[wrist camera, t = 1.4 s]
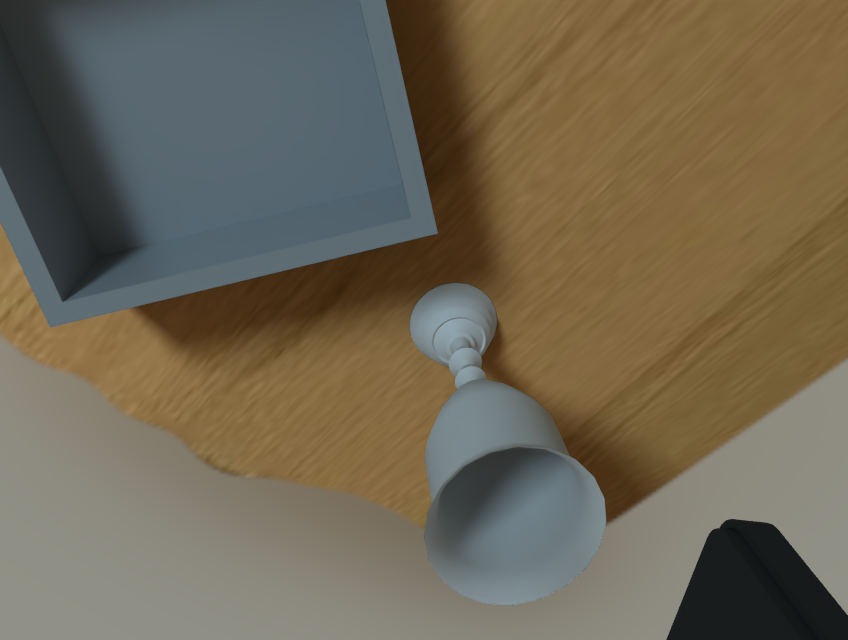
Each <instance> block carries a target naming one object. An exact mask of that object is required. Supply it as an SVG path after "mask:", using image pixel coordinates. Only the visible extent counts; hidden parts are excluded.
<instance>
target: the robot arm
mask: <svg viewBox="0 0 848 640" xmlns="http://www.w3.org/2000/svg"><path fill="white" fill-rule="evenodd" d="M667 640H848V615H847V614H846V613H845V612H844V610H843V609H842V608H841V607H840V605H839V604H838V603H837V602H836V600H835V599H834V598H833V597H832V596H831V594H830V593H829V592H828V591H827V590H826V588H825V587H824V586H823V584H822V583H821V582H820V581H819V580H818V578H817V577H816V576H815V575H814V573H813V572H812V571H811V570H810V568H809V567H808V566H807V565H806V563H805V562H804V561H803V560H802V558H801V557H800V556H799V555H798V554H797V552H796V551H795V550H794V549H793V547H792V546H791V545H790V544H789V542H788V541H787V540H786V539H785V537H784V536H783V535H782V534H781V533H780V531H779V530H778V529H777V528H776V527H775V526H774V525H772V524H769V523H763V522H753V521H745V520H736V519H730V520H726V521H725V522H724V523H723V524H722V525H721V527H720V528H717V529H714V530H712V531H711V532H710V534H709V536H708V538H707V540H706V542H705V545H704V547H703V550H702V552H701V555H700V557H699V560H698V562H697V565H696V567H695V570H694V572H693V575H692V577H691V580H690V582H689V585H688V587H687V590H686V592H685V595H684V597H683V600H682V602H681V605H680V607H679V610H678V612H677V615H676V617H675V620H674V622H673V625H672V627H671V630H670V632H669V635H668V637H667Z"/></svg>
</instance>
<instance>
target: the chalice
mask: <svg viewBox="0 0 848 640" xmlns="http://www.w3.org/2000/svg"><path fill="white" fill-rule="evenodd" d="M496 326H497V316H496V310H495V308H494V306H493V304H492V302H491V300H490V298H489V297H488V296H487V295H485V294H484V293H483V292H482V291H481V290H480V289H478V288H475V287H473V286H471V285H468V284H462V283H450V284H444V285H440V286H438V287H436V288H434V289H432V290H430V291H428V292H427V293H426V294H425V295H424V296H423V297H422V298H421V299H420V300H419V301H418V302H417V304H416V306H415V308H414V310H413V311H412V313H411V320H410V331H411V336H412V340H413V341H414V343H415V345H416V346H417V348H418V350H420V351H421V352H422V353H423V354H424V355H426V356H427V357H428V358H430V359H433V360H434V361H437V362H438V363H440V364H443V365H445V366H448V367H449V368H450V371H451V373H452V374H453V375H454V376H456V379H455V385H456V388H457V390H456V391H455V392H454V394H453V395H452V396H451V397H450V398H449V399H448V401H447V402H446V403H445V404H444V405H443V407H442V409H441V411H440V413H439V415H438V417H437V419H436V421H435V423H434V426H433V428H432V431H431V433H430V436H429V438H428V441H427V448H426V454H425V464H426V470H427V476H428V482H429V488H430V494H431V500H432V504H431V506H430V508H429V510H428V513H427V519H426V526H425V532H424V540H425V545H426V550H427V554H428V559H429V561H430V563H431V564H432V566H433V568H434V569H435V571H436V572H437V574H438V576H439V577H440V579H441V580H442V581H443V582H445V583H446V584H447V585H449V586H450V587H451V588H453V589H454V590H455V591H456V592H458V593H459V594H460V595H462V596H466V597H468V598H471V599H474V600H477V601H479V602H482V603H485V604H503V605H515V604H519V603H525V602H529V601H534V600H538V599H542V598H543V597H546V596H547V595H549V594H551V593H553V592H555V591H557V590H559V589H561V588H563V587H565V586H567V585H568V584H569V583H570V582H571V581H572V580H573V579H574V578H576V577H577V576H578V575H579V574H580V573H581V572H582V571H583V570H585V569H586V567H587V566H588V564H589V563H590V561H591V559H592V558H593V556H594V555H595V553H596V552H597V550H598V549H599V547H600V544H601V540H602V537H603V533H604V529H605V526H606V512H605V499H604V497H603V494H602V492H601V490H600V488H599V486H598V484H597V482H596V480H595V478H594V476H593V475H592V474H591V473H590V472H589V471H587V470H586V469H585V468H584V467H583V466H582V465H581V464H580V463H579V462H578V461H577V460H576V459H574V458H572V457H570V455H569V453H568V450H567V448H566V446H565V444H564V442H563V440H562V437H561V435H560V433H559V431H558V429H557V427H556V425H555V423H554V420H553V418H552V416H551V414H550V413H548V412H547V411H546V410H545V409H544V408H543V407H542V406H541V405H540V404H539V403H538V402H537V401H536V400H534V399H533V398H531V397H529V396H528V395H526V394H525V393H523V392H521V391H520V390H518V389H516V388H513V387H511V386H509V385H507V384H504V383H500V382H496V381H491V380H487V379H486V375H485V373H484V371H483V370H481V366H482V358H481V356H482V355H483V354H484V353H485V351H486V349H487V348H488V346H489V344H490V342H491V340H492V338H493V337H494V335H495V331H496Z"/></svg>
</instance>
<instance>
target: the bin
mask: <svg viewBox="0 0 848 640" xmlns="http://www.w3.org/2000/svg"><path fill="white" fill-rule="evenodd" d="M0 222H1V225H2V227H3V229H4V231H5V233H6V235H7V237H8V239H9V241H10V244H11V246H12V248H13V250H14V252H15V254H16V256H17V258H18V260H19V263H20V265H21V267H22V269H23V271H24V273H25V275H26V277H27V279H28V282H29V284H30V286H31V288H32V290H33V292H34V294H35V296H36V298H37V300H38V303H39V305H40V307H41V309H42V311H43V313H44V315H45V317H46V319H47V322H48V324H49V326H50V327H54V326H58V325H62V324H66V323H70V322H75V321H79V320H83V319H87V318H91V317H95V316H99V315H103V314H108V313H112V312H116V311H120V310H124V309H128V308H132V307H136V306H141V305H145V304H149V303H153V302H157V301H161V300H165V299H169V298H174V297H178V296H182V295H186V294H190V293H194V292H198V291H202V290H207V289H211V288H215V287H219V286H223V285H227V284H231V283H235V282H240V281H244V280H248V279H252V278H256V277H260V276H264V275H269V274H273V273H277V272H281V271H285V270H289V269H293V268H297V267H302V266H306V265H310V264H314V263H318V262H322V261H326V260H330V259H335V258H339V257H343V256H347V255H351V254H355V253H359V252H363V251H368V250H372V249H376V248H380V247H384V246H388V245H392V244H396V243H401V242H405V241H409V240H413V239H417V238H421V237H425V236H430V235H434V234H438V232H437V227H436V223H435V218H434V214H433V210H432V205H431V201H430V196H429V192H428V187H427V183H426V178H425V174H424V170H423V165H422V161H421V156H420V152H419V147H418V143H417V138H416V134H415V129H414V125H413V121H412V116H411V112H410V107H409V103H408V98H407V94H406V89H405V85H404V81H403V76H402V72H401V67H400V63H399V58H398V54H397V49H396V45H395V41H394V36H393V32H392V27H391V23H390V18H389V14H388V9H387V5H386V0H0Z"/></svg>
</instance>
